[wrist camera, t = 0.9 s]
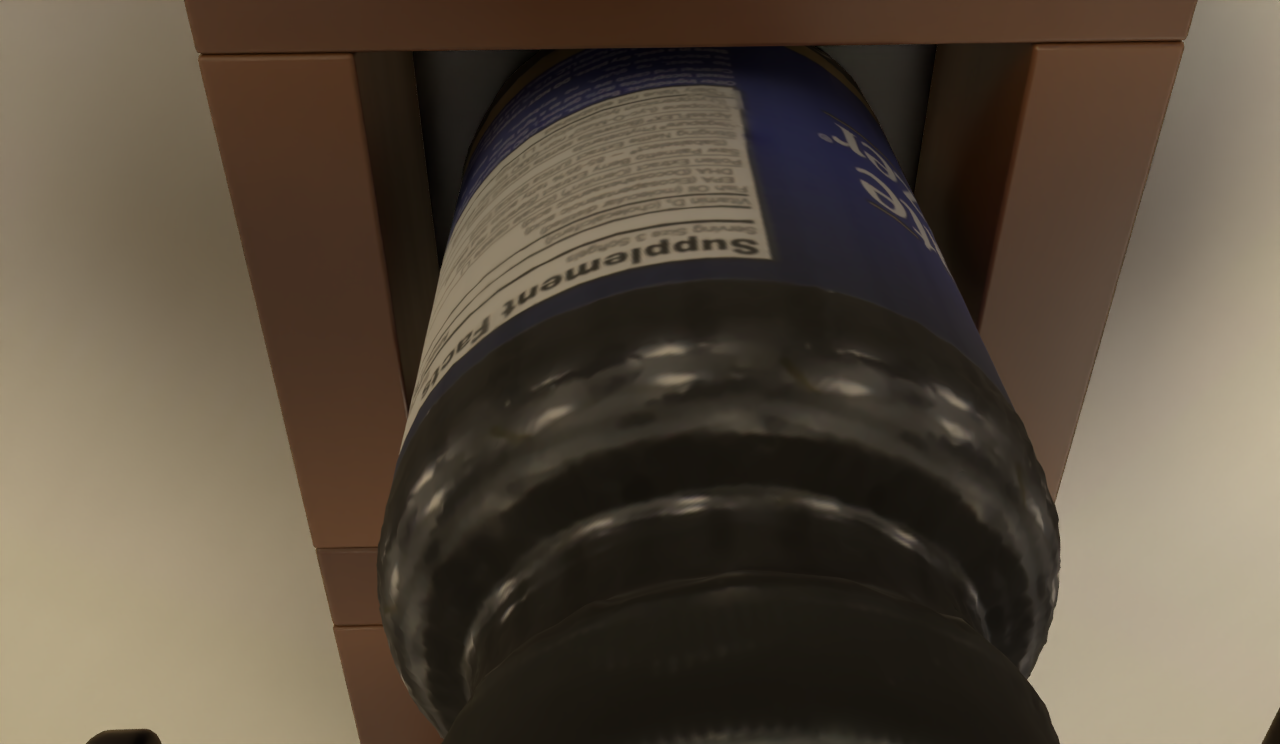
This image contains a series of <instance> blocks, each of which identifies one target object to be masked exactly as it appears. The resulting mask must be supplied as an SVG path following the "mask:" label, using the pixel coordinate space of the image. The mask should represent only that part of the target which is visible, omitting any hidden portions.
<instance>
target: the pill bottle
mask: <svg viewBox="0 0 1280 744" xmlns="http://www.w3.org/2000/svg"><path fill="white" fill-rule="evenodd" d="M1058 522H1059V518H1058V514H1057V510H1056V506H1055V504H1054V501H1053V499H1052V497H1051V495H1050V492H1049V490H1048V487H1047V482H1046V476H1045V472H1044V470H1043V468H1042V466H1041V464H1040V463H1039V461H1038V460H1037V458H1036V455H1035V452H1034V449H1033V446H1032V443H1031V440H1030V439H1029V437H1028V434H1027V431H1026V429H1025V426H1024V423H1023V422H1022V420H1021V418H1020V417H1019V415H1018V414H1017V413H1016V411H1015V409H1014V407H1013V405H1012V403H1011V400H1010V398H1009V396H1008V394H1007V392H1006V390H1005V388H1004V385H1003V383H1002V381H1001V379H1000V377H999V375H998V373H997V370H996V368H995V366H994V364H993V362H992V360H991V358H990V356H989V354H988V351H987V349H986V347H985V345H984V343H983V341H982V339H981V337H980V335H979V333H978V330H977V328H976V326H975V324H974V322H973V320H972V318H971V315H970V313H969V311H968V309H967V307H966V304H965V302H964V300H963V298H962V295H961V293H960V291H959V289H958V287H957V285H956V283H955V281H954V279H953V277H952V275H951V273H950V271H949V269H948V267H947V265H946V262H945V260H944V258H943V255H942V253H941V251H940V249H939V247H938V245H937V243H936V241H935V238H934V235H933V232H932V230H931V229H930V227H929V226H928V224H927V222H926V220H925V218H924V216H923V214H922V212H921V210H920V208H919V205H918V203H917V201H916V199H915V197H914V195H913V193H912V191H911V188H910V186H909V184H908V182H907V180H906V178H905V176H904V174H903V172H902V169H901V167H900V165H899V163H898V161H897V159H896V157H895V155H894V153H893V151H892V149H891V147H890V145H889V143H888V140H887V138H886V136H885V134H884V132H883V130H882V128H881V126H880V124H879V122H878V119H877V117H876V115H875V114H874V112H873V110H872V109H871V107H870V105H869V104H868V102H867V101H866V99H865V97H864V96H863V94H862V92H861V90H860V89H859V87H858V85H857V84H856V82H855V81H854V80H853V78H852V77H851V76H850V75H849V74H848V73H847V72H846V71H845V70H844V69H843V68H842V67H841V66H840V65H839V64H838V63H837V62H836V61H835V60H834V59H832V58H831V57H830V56H829V55H827V54H826V53H824V52H822V51H821V50H819V49H817V48H815V47H814V46H752V47H678V48H605V49H541V50H540V51H539V52H538V53H536V54H535V55H534V56H533V57H532V58H530V59H529V60H528V61H527V62H526V63H524V64H523V65H522V66H521V67H519V68H518V69H517V70H516V71H515V72H514V73H513V74H512V75H511V77H510V78H509V79H508V80H507V81H506V83H505V84H504V85H503V86H502V88H501V90H500V91H499V93H498V94H497V96H496V98H495V100H494V101H493V103H492V105H491V107H490V108H489V110H488V112H487V113H486V115H485V117H484V119H483V121H482V123H481V125H480V127H479V129H478V131H477V133H476V135H475V137H474V139H473V141H472V143H471V145H470V146H469V149H468V153H467V156H466V159H465V163H464V167H463V175H462V184H461V187H460V191H459V195H458V199H457V203H456V207H455V212H454V216H453V220H452V225H451V229H450V233H449V237H448V242H447V246H446V250H445V255H444V259H443V263H442V267H441V271H440V276H439V280H438V285H437V290H436V294H435V299H434V304H433V308H432V312H431V317H430V321H429V325H428V330H427V334H426V338H425V343H424V347H423V352H422V357H421V361H420V366H419V371H418V375H417V380H416V384H415V388H414V392H413V396H412V400H411V405H410V410H409V414H408V418H407V423H406V427H405V431H404V436H403V440H402V444H401V448H400V453H399V457H398V460H397V463H396V468H395V473H394V477H393V482H392V486H391V490H390V494H389V498H388V501H387V504H386V508H385V515H384V521H383V525H382V528H381V535H380V541H379V543H378V553H377V564H376V567H377V594H378V601H379V604H380V607H379V611H380V614H381V618H382V624H383V628H384V632H385V634H386V636H387V641H388V645H389V648H390V652H391V655H392V657H393V660H394V663H395V665H396V668H397V670H398V672H399V674H400V677H401V679H402V680H403V682H404V684H405V685H406V687H407V690H408V692H409V695H410V696H411V697H412V699H413V701H414V702H415V704H416V705H417V706H418V709H419V711H420V712H421V713H422V714H423V715H424V716H425V717H426V718H427V720H428V721H429V722H430V723H431V724H432V725H433V726H434V727H435V728H436V730H437V731H438V733H439V735H440V737H441V738H443V739H444V740H443V742H442V743H441V744H1060V743H1059V739H1058V736H1057V734H1056V732H1055V730H1054V727H1053V725H1052V723H1051V719H1050V716H1049V712H1048V710H1047V708H1046V705H1045V704H1044V702H1043V701H1042V700H1041V698H1040V697H1039V695H1038V694H1037V693H1036V691H1035V690H1034V688H1033V687H1032V686H1031V684H1030V683H1029V682H1028V681H1027V679H1028V677H1029V676H1030V673H1031V672H1032V670H1033V668H1034V666H1035V664H1036V661H1037V659H1038V656H1039V654H1040V652H1041V650H1042V648H1043V646H1044V645H1045V644H1046V642H1047V635H1048V630H1049V627H1050V625H1051V622H1052V620H1053V611H1054V608H1055V606H1056V602H1057V596H1058V588H1059V570H1060V568H1061V567H1060V561H1061V560H1060V536H1059V529H1058Z"/></svg>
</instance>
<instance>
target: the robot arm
mask: <svg viewBox="0 0 1280 744" xmlns="http://www.w3.org/2000/svg"><path fill="white" fill-rule="evenodd" d="M86 744H161V741H160V739H159V737H158V736H157V734H155V733H154V732H153V731H151V730H149V729H124V730H107V731H103V732H101V733H99V734H97V735H95V736H94V737H93V738H91V739H90V740H89V741H88V742H87V743H86ZM1262 744H1280V708H1279V710H1278V712H1277V714H1276V716H1275V718H1274V720H1273V722H1272V724H1271V726H1270V728H1269V730H1268V732H1267V734H1266V736H1265V738H1264V740H1263V742H1262Z"/></svg>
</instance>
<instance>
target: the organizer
mask: <svg viewBox="0 0 1280 744" xmlns="http://www.w3.org/2000/svg"><path fill="white" fill-rule="evenodd" d="M184 2H185V7H186V11H187V15H188V19H189V24H190V28H191V32H192V36H193V40H194V45H195V48H196V50H197V52H198V53H201V54H200V55H199V57H198V62H199V67H200V71H201V75H202V79H203V83H204V88H205V92H206V96H207V100H208V104H209V109H210V113H211V117H212V121H213V125H214V130H215V134H216V138H217V142H218V146H219V151H220V155H221V159H222V163H223V167H224V172H225V176H226V180H227V184H228V188H229V193H230V197H231V201H232V205H233V209H234V214H235V218H236V222H237V226H238V230H239V235H240V239H241V243H242V247H243V251H244V256H245V260H246V264H247V268H248V272H249V277H250V281H251V285H252V289H253V293H254V298H255V302H256V306H257V310H258V314H259V319H260V323H261V327H262V331H263V336H264V340H265V344H266V348H267V352H268V357H269V361H270V365H271V369H272V373H273V378H274V382H275V386H276V390H277V394H278V399H279V403H280V407H281V411H282V415H283V420H284V424H285V428H286V432H287V436H288V441H289V445H290V449H291V453H292V457H293V462H294V466H295V470H296V474H297V478H298V483H299V487H300V491H301V495H302V499H303V504H304V508H305V512H306V516H307V520H308V525H309V529H310V533H311V537H312V541H313V545H314V547H315V548H316V554H317V559H318V563H319V567H320V571H321V575H322V580H323V584H324V588H325V592H326V596H327V601H328V605H329V609H330V613H331V618H332V621H333V623H334V627H333V630H334V634H335V639H336V643H337V647H338V651H339V655H340V660H341V664H342V668H343V672H344V676H345V681H346V685H347V689H348V693H349V697H350V702H351V706H352V710H353V714H354V718H355V723H356V727H357V731H358V735H359V739H360V744H441V743H442V742H443V740H444V739H443V738H441V737H440V735H439V733H438V731H437V730H436V728H435V727H434V726H433V725H432V724H431V723H430V722H429V721H428V720H427V718H426V717H425V716H424V715H423V714H422V713H421V712H420V711H419V709H418V706H417V705H416V704H415V702H414V701H413V699H412V697H411V696H410V695H409V692H408V690H407V687H406V685H405V684H404V682H403V680H402V679H401V677H400V674H399V672H398V670H397V668H396V665H395V663H394V660H393V657H392V655H391V652H390V648H389V645H388V641H387V636H386V634H385V632H384V628H383V624H382V618H381V614H380V611H379V607H380V604H379V601H378V594H377V567H376V564H377V553H378V543H379V541H380V535H381V528H382V525H383V521H384V515H385V508H386V504H387V501H388V498H389V494H390V490H391V486H392V482H393V477H394V473H395V468H396V463H397V460H398V457H399V453H400V448H401V444H402V440H403V436H404V431H405V427H406V423H407V418H408V414H409V410H410V405H411V400H412V396H413V392H414V388H415V384H416V380H417V375H418V371H419V366H420V361H421V357H422V352H423V347H424V343H425V338H426V334H427V330H428V325H429V321H430V317H431V312H432V308H433V304H434V299H435V294H436V290H437V285H438V280H439V276H440V273H439V265H438V256H437V248H436V240H435V232H434V224H433V216H432V208H431V200H430V192H429V184H428V175H427V167H426V159H425V151H424V143H423V135H422V127H421V119H420V111H419V103H418V95H417V86H416V78H415V70H414V62H413V54H412V51H458V50H531V49H605V48H678V47H752V46H825V45H899V44H937V48H936V54H935V61H934V67H933V74H932V80H931V87H930V93H929V100H928V106H927V113H926V119H925V126H924V132H923V139H922V145H921V152H920V158H919V165H918V171H917V178H916V184H915V191H914V197H915V199H916V201H917V203H918V205H919V208H920V210H921V212H922V214H923V216H924V218H925V220H926V222H927V224H928V226H929V227H930V229H931V230H932V232H933V235H934V238H935V241H936V243H937V245H938V247H939V249H940V251H941V253H942V255H943V258H944V260H945V262H946V265H947V267H948V269H949V271H950V273H951V275H952V277H953V279H954V281H955V283H956V285H957V287H958V289H959V291H960V293H961V295H962V298H963V300H964V302H965V304H966V307H967V309H968V311H969V313H970V315H971V318H972V320H973V322H974V324H975V326H976V328H977V330H978V333H979V335H980V337H981V339H982V341H983V343H984V345H985V347H986V349H987V351H988V354H989V356H990V358H991V360H992V362H993V364H994V366H995V368H996V370H997V373H998V375H999V377H1000V379H1001V381H1002V383H1003V385H1004V388H1005V390H1006V392H1007V394H1008V396H1009V398H1010V400H1011V403H1012V405H1013V407H1014V409H1015V411H1016V413H1017V414H1018V415H1019V417H1020V418H1021V420H1022V422H1023V423H1024V426H1025V429H1026V431H1027V434H1028V437H1029V439H1030V440H1031V443H1032V446H1033V449H1034V452H1035V455H1036V458H1037V460H1038V461H1039V463H1040V464H1041V466H1042V468H1043V470H1044V472H1045V476H1046V482H1047V487H1048V490H1049V492H1050V495H1051V497H1052V499H1053V501H1054V504H1055V500H1056V497H1057V493H1058V490H1059V486H1060V483H1061V479H1062V476H1063V472H1064V469H1065V465H1066V462H1067V458H1068V455H1069V451H1070V448H1071V444H1072V441H1073V437H1074V434H1075V430H1076V427H1077V423H1078V419H1079V416H1080V412H1081V409H1082V405H1083V402H1084V398H1085V395H1086V391H1087V388H1088V384H1089V381H1090V377H1091V374H1092V370H1093V367H1094V363H1095V360H1096V356H1097V353H1098V349H1099V346H1100V342H1101V339H1102V335H1103V332H1104V328H1105V325H1106V321H1107V318H1108V314H1109V311H1110V307H1111V304H1112V300H1113V297H1114V293H1115V290H1116V286H1117V282H1118V279H1119V275H1120V272H1121V268H1122V265H1123V261H1124V258H1125V254H1126V251H1127V247H1128V244H1129V240H1130V237H1131V233H1132V230H1133V226H1134V223H1135V219H1136V216H1137V212H1138V209H1139V205H1140V202H1141V198H1142V195H1143V191H1144V188H1145V184H1146V181H1147V177H1148V174H1149V170H1150V167H1151V163H1152V160H1153V156H1154V152H1155V149H1156V145H1157V142H1158V138H1159V135H1160V131H1161V128H1162V124H1163V121H1164V117H1165V114H1166V110H1167V107H1168V103H1169V100H1170V96H1171V93H1172V89H1173V86H1174V82H1175V79H1176V75H1177V72H1178V68H1179V65H1180V61H1181V58H1182V54H1183V51H1184V42H1182V41H1181V40H1184V39H1186V37H1187V36H1188V32H1189V29H1190V25H1191V22H1192V18H1193V15H1194V11H1195V8H1196V4H1197V0H184Z"/></svg>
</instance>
